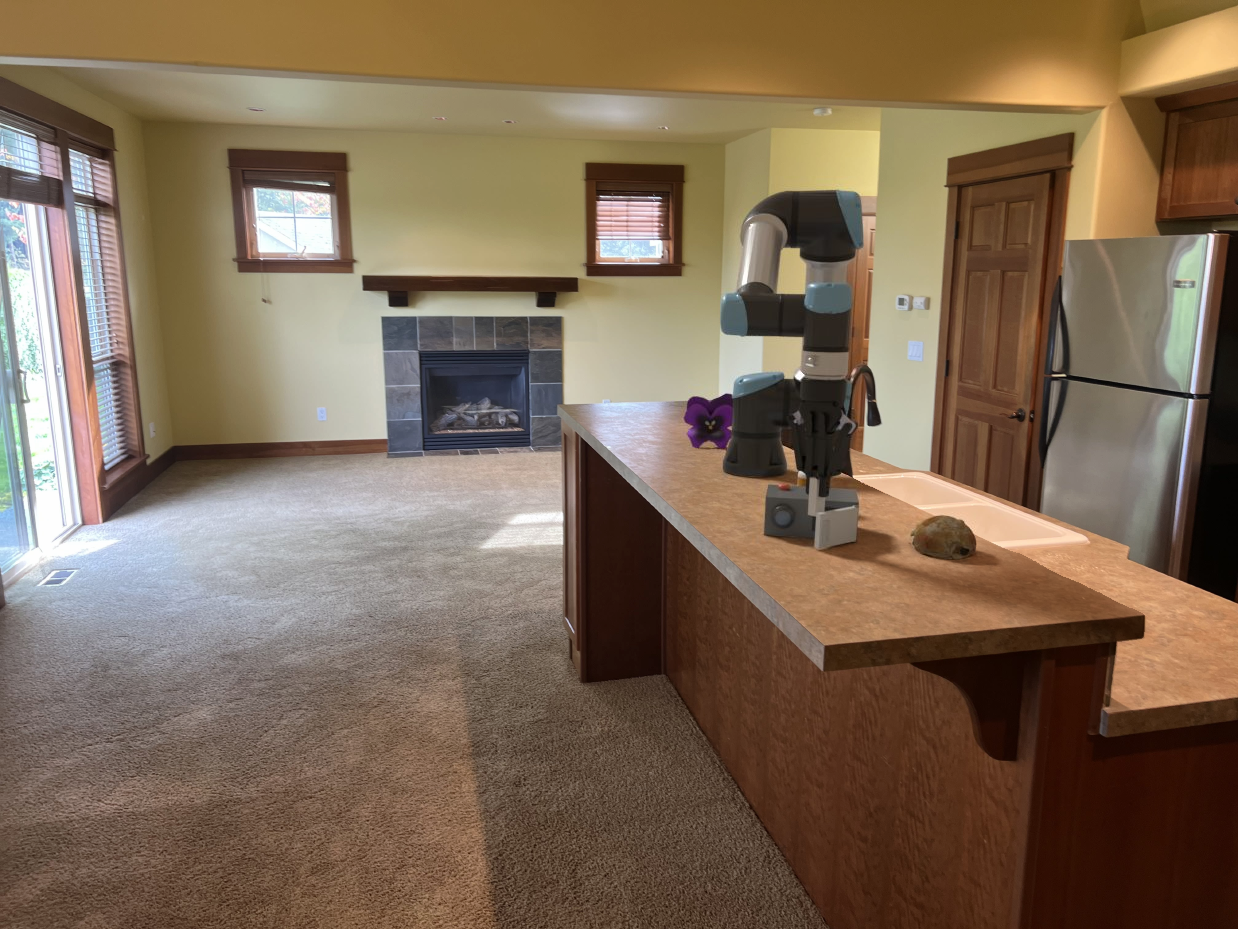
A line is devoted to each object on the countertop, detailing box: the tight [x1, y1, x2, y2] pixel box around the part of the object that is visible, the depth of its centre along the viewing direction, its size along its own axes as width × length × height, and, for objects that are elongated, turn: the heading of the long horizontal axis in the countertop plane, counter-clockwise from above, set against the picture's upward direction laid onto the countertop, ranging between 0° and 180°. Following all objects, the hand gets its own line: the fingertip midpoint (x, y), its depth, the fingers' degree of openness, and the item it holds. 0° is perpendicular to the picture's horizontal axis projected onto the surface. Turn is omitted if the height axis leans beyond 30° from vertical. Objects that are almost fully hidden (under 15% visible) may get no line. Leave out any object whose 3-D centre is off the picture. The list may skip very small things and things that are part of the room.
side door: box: [813, 504, 860, 550], centre depth 152 cm, size 2×10×6 cm, turn 123°
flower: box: [683, 392, 733, 450], centre depth 245 cm, size 15×15×14 cm
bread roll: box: [910, 514, 977, 560], centre depth 150 cm, size 10×10×8 cm
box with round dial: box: [763, 483, 860, 539], centre depth 161 cm, size 12×16×8 cm
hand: (816, 514), depth 153 cm, fingers closed
